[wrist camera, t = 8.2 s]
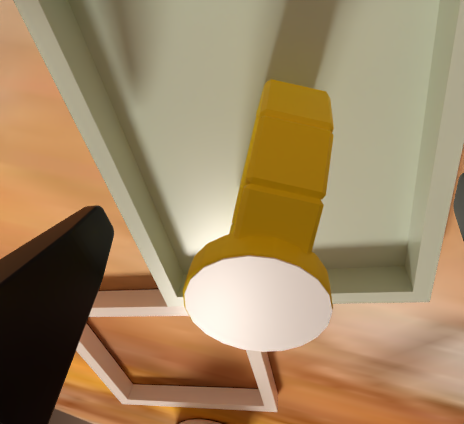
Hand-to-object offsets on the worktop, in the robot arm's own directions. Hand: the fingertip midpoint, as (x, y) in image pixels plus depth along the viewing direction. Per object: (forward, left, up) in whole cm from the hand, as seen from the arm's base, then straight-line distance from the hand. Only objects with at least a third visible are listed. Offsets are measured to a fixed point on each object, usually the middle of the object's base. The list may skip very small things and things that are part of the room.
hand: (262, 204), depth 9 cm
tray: (0, 0, -3) cm, 3 cm away
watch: (0, 0, -3) cm, 3 cm away
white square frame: (+7, +12, -3) cm, 14 cm away
